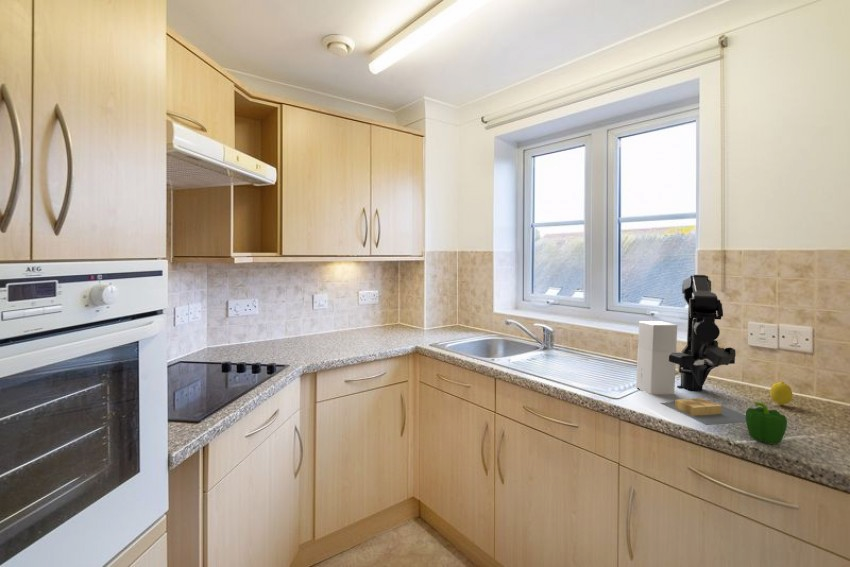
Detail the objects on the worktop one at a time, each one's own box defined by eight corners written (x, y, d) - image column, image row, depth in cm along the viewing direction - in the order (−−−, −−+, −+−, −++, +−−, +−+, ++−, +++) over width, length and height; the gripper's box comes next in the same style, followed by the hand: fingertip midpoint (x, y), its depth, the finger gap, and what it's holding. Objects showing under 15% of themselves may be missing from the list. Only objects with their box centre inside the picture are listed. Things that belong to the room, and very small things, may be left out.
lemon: (795, 409, 131) (796, 384, 131) (773, 407, 133) (775, 383, 133) (786, 403, 136) (788, 380, 136) (766, 401, 138) (767, 378, 138)
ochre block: (702, 405, 132) (674, 407, 131) (702, 398, 132) (675, 399, 130) (721, 413, 125) (692, 415, 124) (721, 405, 125) (693, 407, 124)
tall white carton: (635, 388, 152) (638, 321, 150) (658, 387, 153) (661, 320, 151) (650, 396, 143) (653, 324, 142) (674, 395, 144) (677, 324, 142)
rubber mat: (659, 404, 135) (659, 402, 135) (707, 401, 138) (707, 399, 138) (706, 426, 117) (706, 424, 117) (759, 422, 120) (759, 420, 120)
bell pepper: (787, 440, 109) (789, 403, 108) (784, 450, 103) (786, 411, 102) (747, 431, 115) (749, 395, 114) (742, 440, 109) (744, 402, 108)
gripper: (698, 341, 117) (695, 395, 118) (753, 340, 120) (750, 392, 121) (668, 334, 128) (666, 383, 129) (719, 333, 131) (717, 381, 132)
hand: (700, 385), depth 128 cm, fingers closed
